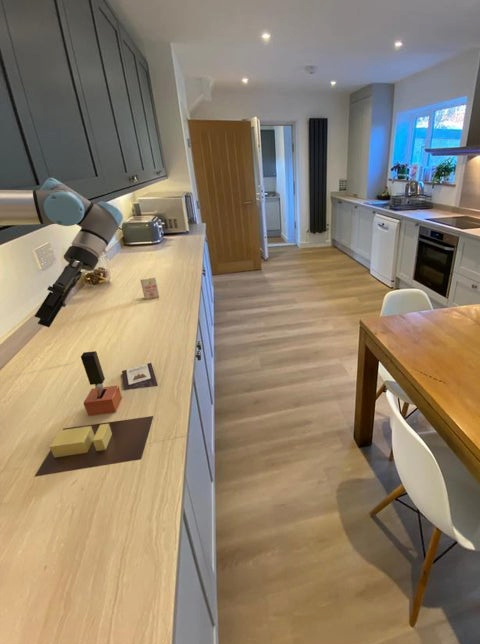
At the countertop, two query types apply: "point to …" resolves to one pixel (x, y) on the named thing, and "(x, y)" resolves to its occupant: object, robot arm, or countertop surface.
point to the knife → (94, 371)
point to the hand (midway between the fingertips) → (42, 322)
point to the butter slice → (102, 437)
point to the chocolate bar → (139, 377)
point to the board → (120, 448)
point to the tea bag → (149, 288)
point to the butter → (72, 441)
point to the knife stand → (103, 401)
